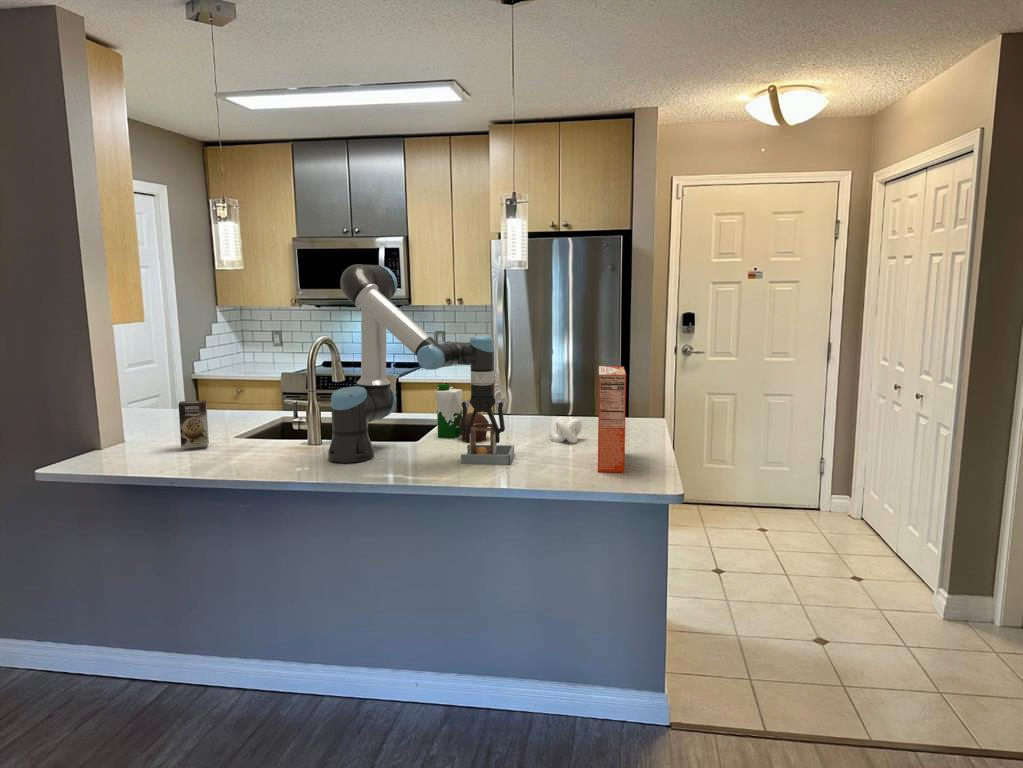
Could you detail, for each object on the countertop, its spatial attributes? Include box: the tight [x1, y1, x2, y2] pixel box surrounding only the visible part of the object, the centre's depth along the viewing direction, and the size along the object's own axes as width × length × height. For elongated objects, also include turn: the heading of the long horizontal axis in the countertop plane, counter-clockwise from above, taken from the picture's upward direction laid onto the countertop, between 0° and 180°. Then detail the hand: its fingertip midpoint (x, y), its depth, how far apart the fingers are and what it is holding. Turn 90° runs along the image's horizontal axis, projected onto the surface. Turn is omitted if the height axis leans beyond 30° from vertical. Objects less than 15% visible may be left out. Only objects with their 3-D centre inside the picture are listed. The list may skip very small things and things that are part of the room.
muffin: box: [459, 412, 490, 443], centre depth 251 cm, size 12×11×10 cm
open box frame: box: [471, 423, 495, 455], centre depth 222 cm, size 7×7×10 cm
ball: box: [476, 447, 489, 455], centre depth 223 cm, size 4×4×4 cm
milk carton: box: [435, 383, 463, 440], centre depth 256 cm, size 9×9×20 cm
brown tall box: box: [178, 400, 210, 449], centre depth 244 cm, size 9×6×16 cm
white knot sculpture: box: [549, 416, 583, 444], centre depth 247 cm, size 11×12×9 cm
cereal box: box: [597, 365, 627, 473], centre depth 215 cm, size 23×8×30 cm, turn 173°
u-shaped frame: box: [460, 444, 515, 466], centre depth 223 cm, size 16×14×3 cm
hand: (483, 452), depth 223 cm, fingers closed on open box frame, 7 cm apart
